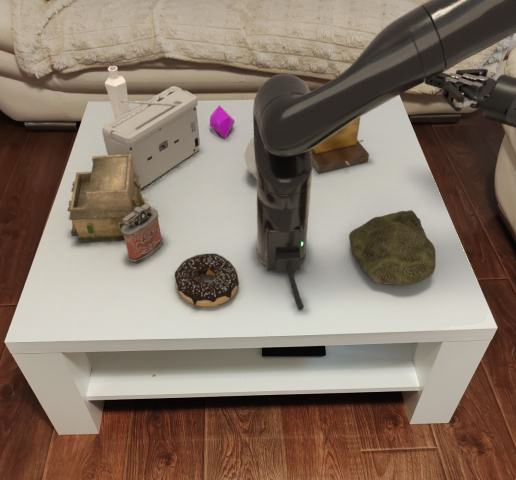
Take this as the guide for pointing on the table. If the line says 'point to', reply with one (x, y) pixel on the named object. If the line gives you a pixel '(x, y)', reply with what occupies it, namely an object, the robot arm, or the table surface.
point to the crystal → (221, 121)
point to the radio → (156, 133)
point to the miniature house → (104, 198)
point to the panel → (339, 158)
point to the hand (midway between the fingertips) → (427, 76)
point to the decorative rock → (394, 249)
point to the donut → (206, 290)
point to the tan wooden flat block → (340, 138)
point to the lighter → (142, 233)
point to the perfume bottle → (117, 92)
